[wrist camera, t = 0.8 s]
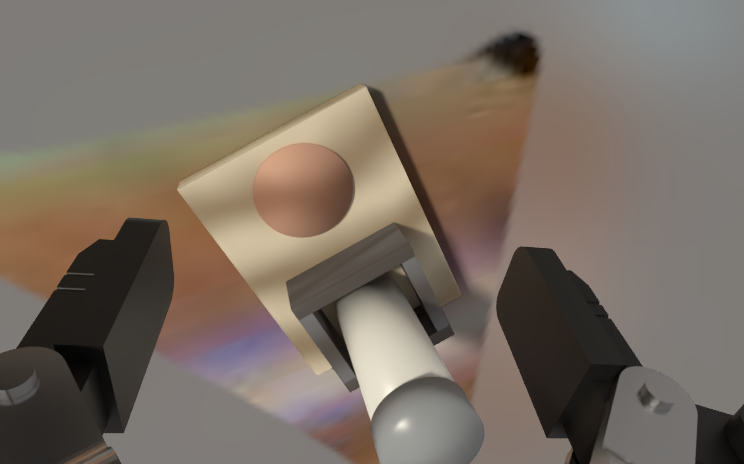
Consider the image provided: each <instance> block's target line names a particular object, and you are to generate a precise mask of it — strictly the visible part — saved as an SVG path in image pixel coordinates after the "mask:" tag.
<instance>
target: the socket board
mask: <svg viewBox="0 0 744 464" xmlns="http://www.w3.org/2000/svg"><path fill="white" fill-rule="evenodd" d="M177 190H178V191H179V193H180V194H181V195H182V197H183V198H184V199H185V201H186V202H187V203H188V205H189V206H190V207H191V209H192V210H193V211H194V213H195V214H196V215H197V217H198V218H199V219H200V221H201V222H202V223H203V225H204V226H205V227H206V229H207V230H208V231H209V233H210V234H211V235H212V237H213V238H214V239H215V241H216V242H217V243H218V245H219V246H220V247H221V249H222V250H223V251H224V253H225V254H226V255H227V257H228V258H229V259H230V261H231V262H232V263H233V265H234V266H235V267H236V269H237V270H238V271H239V273H240V274H241V275H242V277H243V278H244V279H245V280H246V282H247V283H248V284H249V286H250V287H251V288H252V290H253V291H254V292H255V294H256V295H257V296H258V298H259V299H260V300H261V302H262V303H263V304H264V306H265V307H266V308H267V310H268V311H269V312H270V314H271V315H272V316H273V318H274V319H275V320H276V322H277V323H278V324H279V326H280V327H281V328H282V330H283V331H284V332H285V334H286V335H287V336H288V338H289V339H290V340H291V342H292V343H293V344H294V346H295V347H296V348H297V350H298V351H299V352H300V354H301V355H302V356H303V358H304V359H305V360H306V362H307V363H308V364H309V366H310V367H311V368H312V370H313V371H314V372H315V374H316V375H317V376H318V375H320V374H321V373H323V372H325V371H327V370H329V369H331V368H333V369H334V371H335V372H336V373H337V375H338V376H339V378H340V379H341V380H342V382H343V383H344V385H345V386H346V387H347V389H348V390H349V391H350V392H352V391H353V390H355V389H357V388H359V387H360V386H359V383H358V380H357V377H356V373H355V370H354V367H353V364H352V361H351V358H350V355H349V352H348V349H347V346H346V343H345V340H344V337H343V333H342V330H341V327H340V324H339V321H338V318H337V315H336V312H335V309H334V306H333V301H335V300H337V299H339V298H341V297H342V296H344V295H346V294H348V293H350V292H351V291H353V290H355V289H357V288H359V287H361V286H362V285H364V284H366V283H368V282H370V281H371V280H373V279H375V278H377V277H379V276H380V275H382V274H384V273H386V272H388V271H389V272H390V273H391V274H392V275H393V276H394V278H395V279H396V281H397V283H398V284H399V286H400V288H401V290H402V291H403V293H404V295H405V297H406V298H407V300H408V302H409V304H410V305H411V307H412V309H413V311H414V312H415V314H416V316H417V318H418V319H419V321H420V323H421V324H422V326H423V328H424V330H425V331H426V333H427V335H428V337H429V338H430V340H431V342H432V344H433V345H436V344H438V343H440V342H441V341H443V340H445V339H447V338H449V337H450V336H452V335H454V332H453V330H452V328H451V326H450V324H449V322H448V320H447V318H446V316H445V314H444V312H443V310H442V308H441V307H442V306H444V305H446V304H448V303H450V302H451V301H453V300H455V299H457V298H459V297H460V296H462V294H461V292H460V290H459V288H458V285H457V283H456V281H455V279H454V277H453V274H452V272H451V270H450V268H449V266H448V264H447V261H446V259H445V257H444V255H443V253H442V251H441V248H440V246H439V244H438V242H437V240H436V237H435V235H434V233H433V231H432V229H431V227H430V224H429V222H428V220H427V218H426V216H425V214H424V211H423V209H422V207H421V205H420V203H419V200H418V198H417V196H416V194H415V192H414V190H413V187H412V185H411V183H410V181H409V179H408V177H407V174H406V172H405V170H404V168H403V166H402V163H401V161H400V159H399V157H398V155H397V153H396V150H395V148H394V146H393V144H392V142H391V140H390V137H389V135H388V133H387V131H386V129H385V126H384V124H383V122H382V120H381V118H380V116H379V113H378V111H377V109H376V107H375V105H374V103H373V100H372V98H371V96H370V94H369V92H368V89H367V87H366V86H364V85H363V84H361V83H360V84H358V85H356V86H354V87H352V88H350V89H349V90H347V91H345V92H343V93H341V94H339V95H338V96H336V97H334V98H332V99H330V100H328V101H327V102H325V103H323V104H321V105H319V106H317V107H316V108H314V109H312V110H310V111H308V112H306V113H305V114H303V115H301V116H299V117H297V118H295V119H294V120H292V121H290V122H288V123H286V124H284V125H283V126H281V127H279V128H277V129H275V130H273V131H272V132H270V133H268V134H266V135H264V136H262V137H261V138H259V139H257V140H255V141H253V142H251V143H250V144H248V145H246V146H244V147H242V148H240V149H239V150H237V151H235V152H233V153H231V154H229V155H228V156H226V157H224V158H222V159H220V160H218V161H217V162H215V163H213V164H211V165H209V166H207V167H205V168H204V169H202V170H200V171H198V172H196V173H194V174H193V175H191V176H189V177H187V178H185V179H183V180H182V181H180V182H179V186H178V189H177Z"/></svg>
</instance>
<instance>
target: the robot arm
mask: <svg viewBox="0 0 744 464" xmlns="http://www.w3.org/2000/svg"><path fill="white" fill-rule="evenodd" d="M173 288H174V271H173V262H172V253H171V243H170V234H169V226H168V223H167V221H166V220H155V219H141V218H128V219H126V221H125V222H124V224H123V226H122V227H121V229H120V231H119V233H118V234H117V236H116V238H115V239H114V240H103V239H99V240H98V241H96V242H95V243H93V244H92V245H90V246H89V247H88V248H86V249H85V250H83V251H82V252H81V253H79V254H78V255H77V257H76V258H75V260H74V262H73V263H72V265H71V266H70V268H69V269H68V271H67V275H64V277H63V278H62V280H61V281H60V283H59V284H58V286H57V290H54V292H53V293H52V295H51V296H50V298H49V299H48V301H47V303H46V304H45V306H44V307H43V309H42V310H41V312H40V313H39V315H38V316H37V318H36V319H35V321H34V322H33V324H32V325H31V327H30V329H29V330H28V331H27V333H26V334H25V336H24V337H23V339H22V341H21V342H20V344H19V345H18V347H17V348H16V349H13V350H9V351H6V352H3V353H1V354H0V464H121V462H120V460H119V458H118V456H117V455H116V453H115V451H114V450H113V448H112V447H109V448H108V446H107V445H106V443H105V441H104V439H103V437H102V435H103V433H124V431H125V428H126V425H127V422H128V420H129V417H130V414H131V411H132V409H133V406H134V403H135V400H136V398H137V395H138V392H139V389H140V386H141V384H142V381H143V378H144V375H145V373H146V369H147V367H148V364H149V361H150V359H151V356H152V353H153V350H154V348H155V345H156V342H157V339H158V337H159V334H160V331H161V328H162V325H163V323H164V320H165V317H166V314H167V312H168V309H169V306H170V303H171V300H172V295H173ZM496 309H497V316H498V320H499V322H500V325H501V327H502V330H503V332H504V335H505V337H506V339H507V342H508V344H509V347H510V349H511V351H512V354H513V357H514V359H515V361H516V364H517V366H518V369H519V371H520V374H521V376H522V378H523V381H524V384H525V386H526V388H527V391H528V393H529V396H530V398H531V401H532V403H533V406H534V408H535V410H536V413H537V415H538V417H539V420H540V423H541V425H542V427H543V430H544V432H545V435H546V437H547V438H568V439H569V441H570V444H571V446H572V448H571V450H570V451H569V452H568V454H567V457H566V459H565V463H564V464H744V405H743V406H742V407H741V408H740V409H739V410H738V411H737V412H736V413H735V415H730V414H726V413H723V412H719V411H716V410H713V409H709V408H706V407H703V406H699V405H696V404H694V402H693V400H692V398H691V397H690V395H689V394H688V393H687V392H686V391H685V390H684V389H683V388H682V387H681V386H680V385H679V384H678V383H677V382H675V381H674V380H673V379H671V378H670V377H668V376H666V375H664V374H663V373H661V372H658V371H656V370H654V369H650V368H646V367H643V366H642V365H641V363H640V362H639V360H638V359H637V357H636V356H635V354H634V353H633V351H632V350H631V348H630V347H629V346H628V344H627V342H626V341H625V339H624V338H623V336H622V335H621V333H620V332H619V330H618V329H617V327H616V326H615V324H614V323H613V321H612V320H611V319H609V318H608V314H607V312H606V311H605V310H604V308H603V306H602V305H599V301H598V299H597V298H596V296H595V294H594V293H593V291H592V290H591V288H590V287H589V285H587V284H586V283H585V282H584V281H583V280H582V279H580V278H579V277H578V276H577V275H576V274H574V273H573V272H572V271H569V270H568V271H567V270H566V269H565V267H564V266H563V264H562V262H561V261H560V259H559V258H558V256H557V255H556V253H555V252H554V251H553V250H552V249H548V248H534V247H519V248H517V250H516V251H515V252H514V255H513V257H512V260H511V262H510V265H509V268H508V270H507V273H506V275H505V278H504V280H503V283H502V285H501V288H500V290H499V293H498V297H497V304H496Z"/></svg>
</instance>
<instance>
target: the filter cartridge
mask: <svg viewBox="0 0 744 464" xmlns="http://www.w3.org/2000/svg"><path fill="white" fill-rule="evenodd" d="M333 306H334V309H335V312H336V315H337V318H338V321H339V324H340V327H341V330H342V333H343V337H344V340H345V343H346V346H347V349H348V352H349V355H350V358H351V361H352V364H353V367H354V370H355V373H356V377H357V380H358V383H359V386H360V389H361V392H362V395H363V398H364V401H365V404H366V407H367V410H368V413H369V416H370V420H371V424H370V430H371V435H372V438H373V442H374V445H375V448H376V451H377V454H378V457H379V461H380V464H469V463H470V462H471V461H472V460H473V459H474V458H475V456H476V455H477V453H478V452H479V450H480V448H481V446H482V443H483V439H484V427H483V423H482V421H481V419H480V418H479V416H478V414H477V413H476V411H475V409H474V407H473V406H472V404H471V402H470V400H469V399H468V397H467V395H466V394H465V392H464V390H463V389H462V388H461V387H460V386H459V385H458V384H457V383H455V382H454V380H453V379H452V377H451V375H450V373H449V372H448V370H447V368H446V366H445V365H444V363H443V361H442V359H441V358H440V356H439V354H438V352H437V351H436V349H435V347H434V345H433V344H432V342H431V340H430V338H429V337H428V335H427V333H426V331H425V330H424V328H423V326H422V324H421V323H420V321H419V319H418V318H417V316H416V314H415V312H414V311H413V309H412V307H411V305H410V304H409V302H408V300H407V298H406V297H405V295H404V293H403V291H402V290H401V288H400V286H399V284H398V283H397V281H396V279H395V278H394V276H393V275H392V274H391V273H390V272H389V271H388V272H386V273H384V274H382V275H380V276H379V277H377V278H375V279H373V280H371V281H370V282H368V283H366V284H364V285H362V286H361V287H359V288H357V289H355V290H353V291H351V292H350V293H348V294H346V295H344V296H342V297H341V298H339V299H337V300H335V301H333Z"/></svg>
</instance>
